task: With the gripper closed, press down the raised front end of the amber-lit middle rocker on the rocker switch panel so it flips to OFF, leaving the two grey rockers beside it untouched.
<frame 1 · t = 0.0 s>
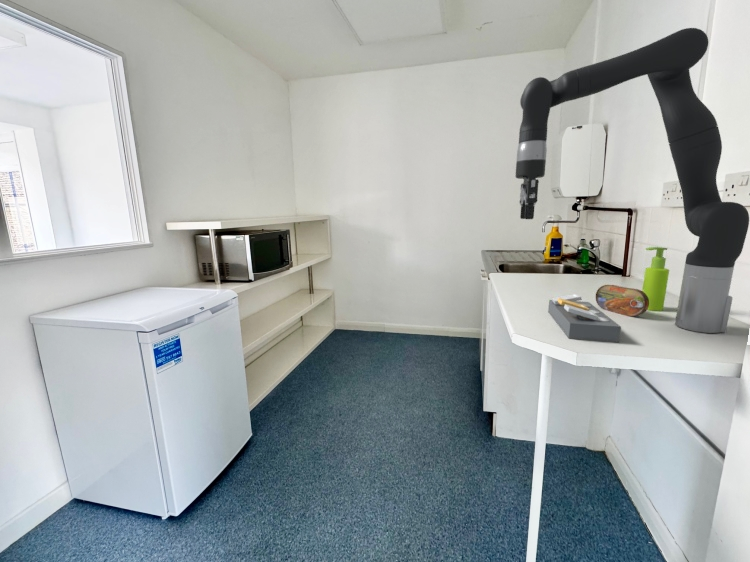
hand: (526, 219, 99), 29 cm above the table, fingers open, 8 cm apart
rocker switch panel: (578, 325, 96), on the table
rocker c: (580, 311, 89), point 6 cm above the table, hinge at -15.0°
rocker a: (566, 298, 102), point 6 cm above the table, hinge at 15.0°
tin: (619, 313, 108), on the table
soap dispenser: (649, 309, 111), on the table
rocker b: (573, 305, 95), point 6 cm above the table, hinge at -15.0°
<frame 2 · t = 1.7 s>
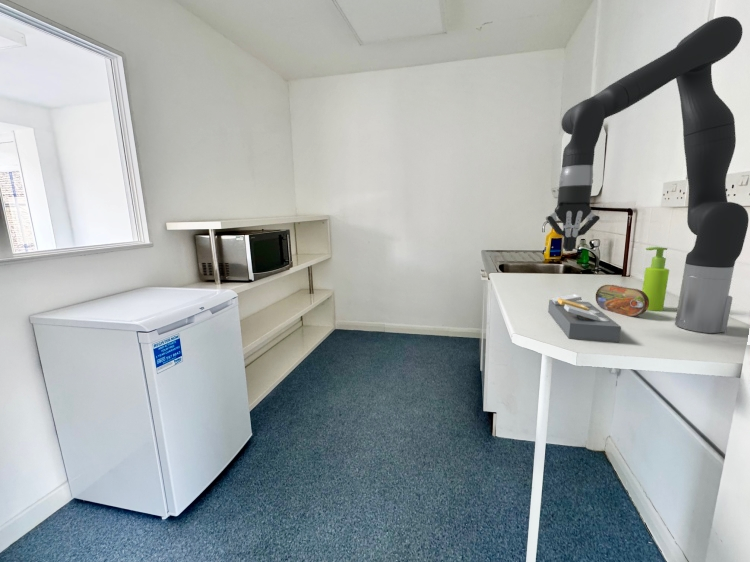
hand: (568, 250, 93), 21 cm above the table, fingers closed
nothing on the table moved.
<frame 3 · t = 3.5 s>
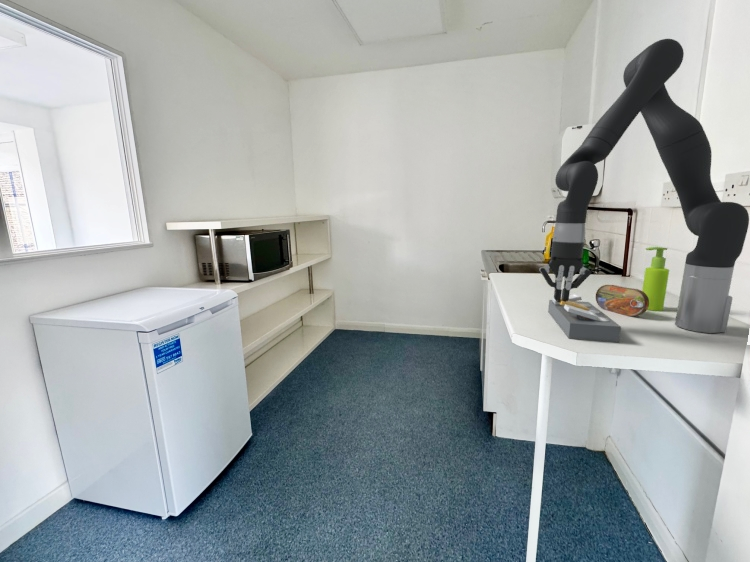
hand: (560, 301, 96), 6 cm above the table, fingers closed
rocker b: (573, 305, 95), point 6 cm above the table, hinge at -14.1°, touching gripper
everything else where it was.
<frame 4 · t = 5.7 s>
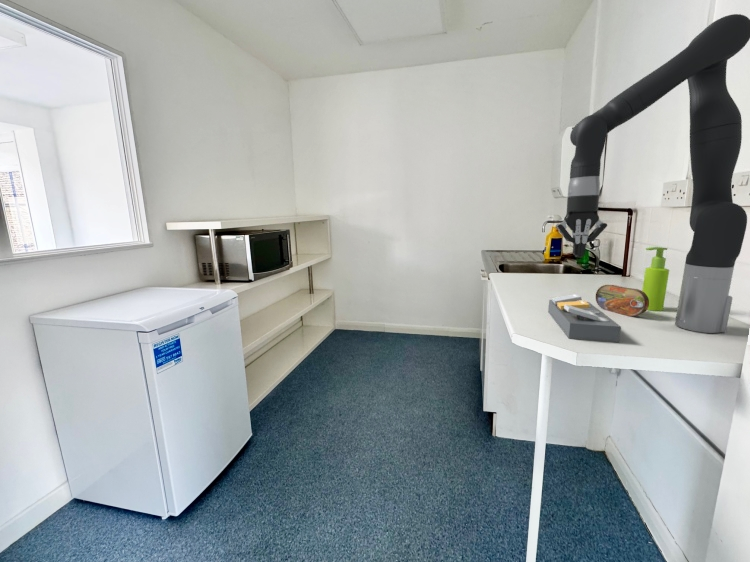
hand: (578, 256, 98), 19 cm above the table, fingers closed
rocker b: (572, 305, 95), point 6 cm above the table, hinge at 7.6°
everything else where it was.
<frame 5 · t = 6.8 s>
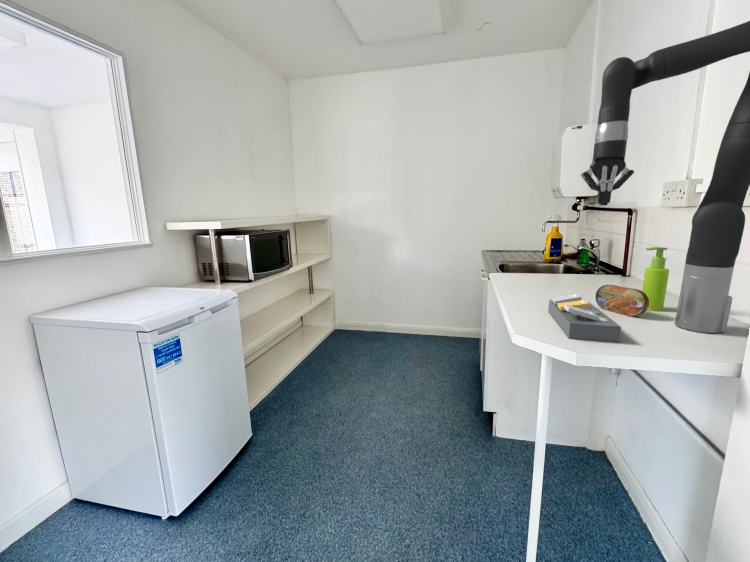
hand: (603, 205, 98), 33 cm above the table, fingers closed
rocker b: (572, 305, 95), point 6 cm above the table, hinge at 12.2°
everything else where it was.
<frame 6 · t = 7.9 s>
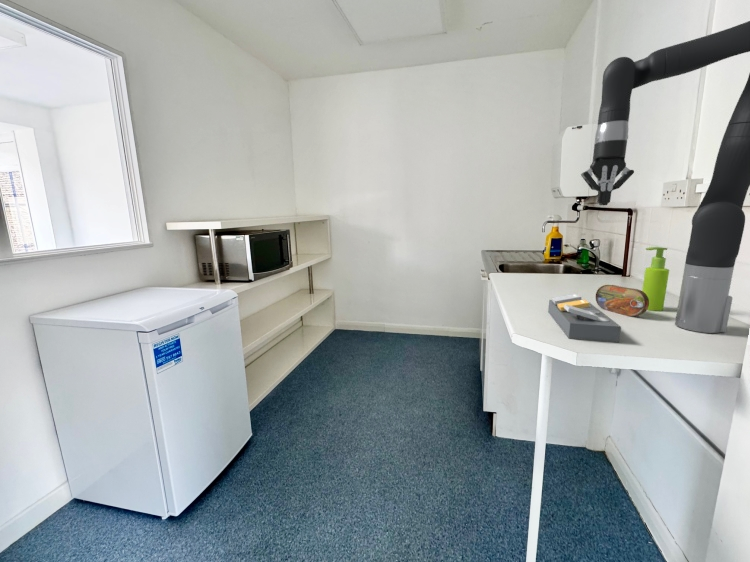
hand: (603, 205, 98), 33 cm above the table, fingers closed
rocker b: (572, 305, 95), point 6 cm above the table, hinge at 14.7°
everything else where it was.
at the end: rocker b at +15° (first picture: -15°); rocker a at +15° (first picture: +15°); rocker c at -15° (first picture: -15°) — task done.
